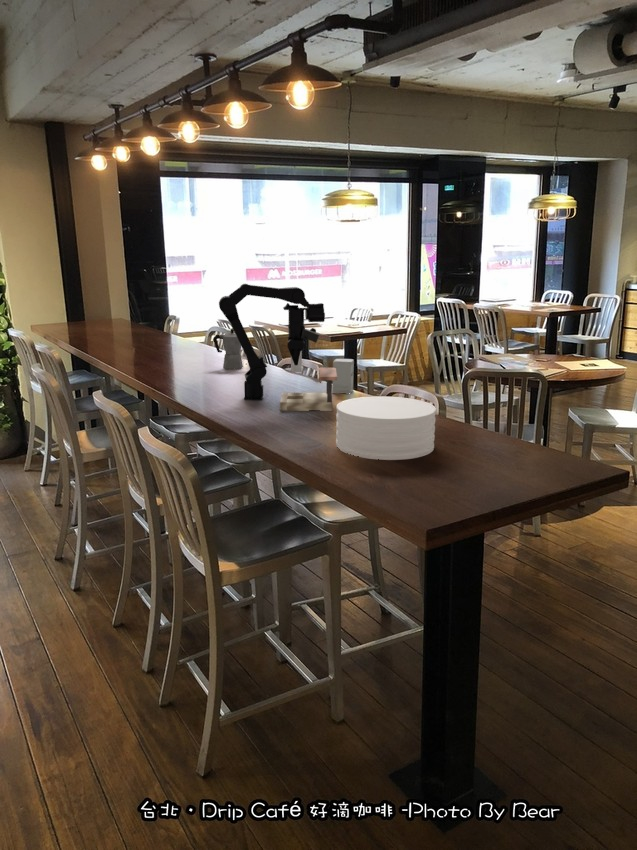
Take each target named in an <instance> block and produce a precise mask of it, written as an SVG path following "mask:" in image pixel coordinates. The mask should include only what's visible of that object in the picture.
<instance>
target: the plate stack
mask: <svg viewBox="0 0 637 850" xmlns="http://www.w3.org/2000/svg"><path fill="white" fill-rule="evenodd" d="M436 413H437V408H436V406H434V405H433V404H431V403H429V402H426V401H424V400H420V399H415V398H409V397H408V398H407V397H401V396H382V395H381V396H380V395H379V396H378V395H377V396H362V397H353V398H349V399H345V400H343V401H340V402H339V403H337V404H336V416H335V417H336V425H335V427H336V430H335V431H336V433H335V437H336V439H335V446H336V448H337V447H338V448H339V449H340V450H339V449H338V448H337V449H338V450H339V451H341V452H343V453H345V454H347V453H348V454H347V455H350V454H351V455H350V456H353V455H354V456H355V457H357V456H359V457H358V458H363V459H370V460H378V459H379V460H383V461H384V460H385V461H398V460H399V461H400V460H410V459H417V458H421V457H424V456H427V455H429V454H431V453H432V452H433V451H434V449H435V442H434V441H435V437H436V436H435V431H436V426H435V424H436Z"/></svg>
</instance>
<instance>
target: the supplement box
mask: <svg viewBox="0 0 637 850" xmlns="http://www.w3.org/2000/svg"><path fill="white" fill-rule="evenodd" d="M354 364H355V361H354V359H352V358H335V359H334V360H333V361H332V368H336V373H337V380H332V394H339V393H346V394H345V395H351V393H352V392H353V391H354V369H355V368H354V367H355V366H354ZM349 393H350V394H349Z"/></svg>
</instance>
